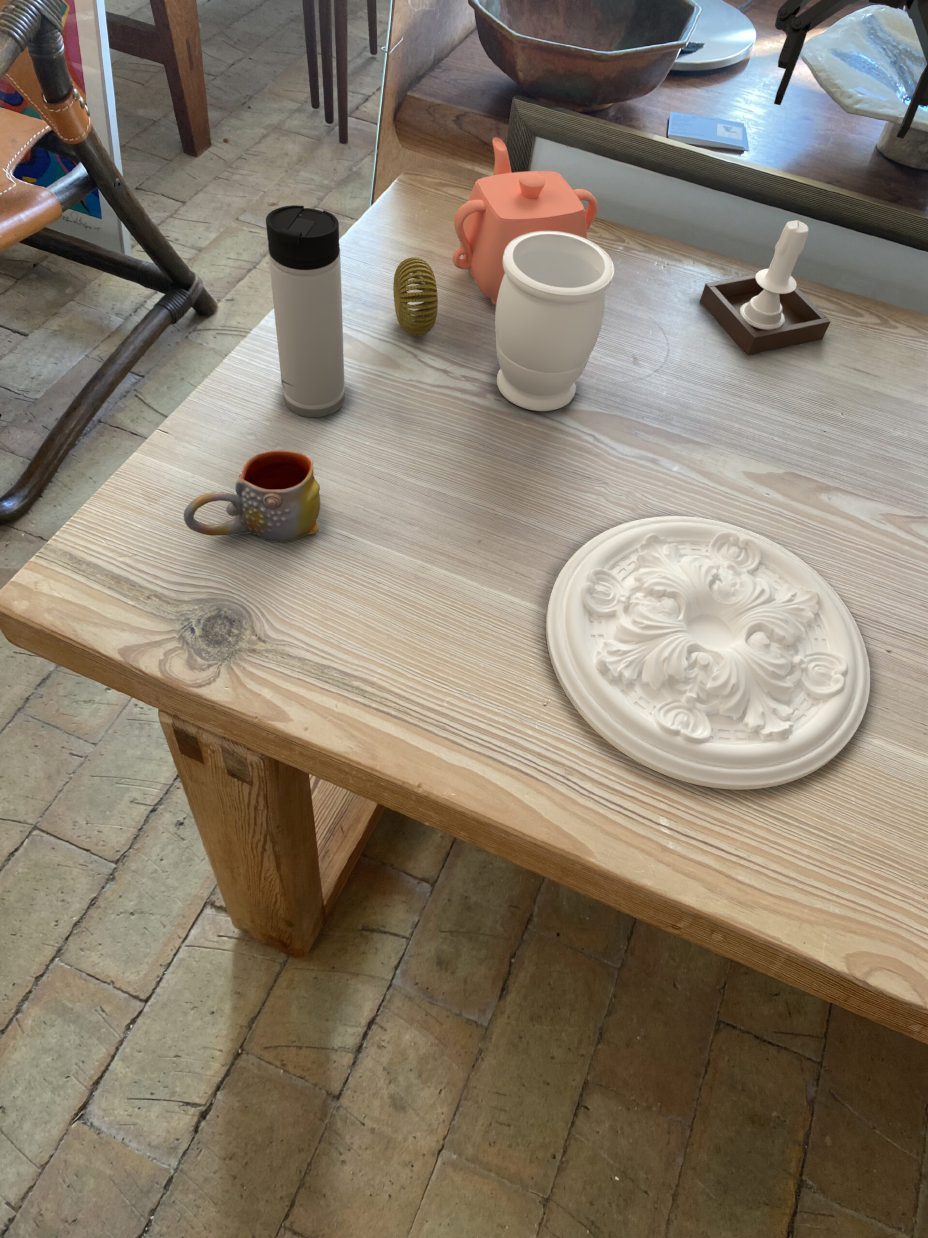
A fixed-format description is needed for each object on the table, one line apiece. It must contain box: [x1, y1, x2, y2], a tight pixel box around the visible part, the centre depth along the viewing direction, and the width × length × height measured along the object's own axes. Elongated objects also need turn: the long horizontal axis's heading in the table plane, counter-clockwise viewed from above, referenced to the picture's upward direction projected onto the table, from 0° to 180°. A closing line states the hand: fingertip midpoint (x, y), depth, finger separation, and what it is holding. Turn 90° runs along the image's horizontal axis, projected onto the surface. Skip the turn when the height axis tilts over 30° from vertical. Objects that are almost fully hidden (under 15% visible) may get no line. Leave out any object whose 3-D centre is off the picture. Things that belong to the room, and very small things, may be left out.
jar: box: [494, 231, 615, 412], centre depth 91 cm, size 11×10×15 cm
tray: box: [699, 273, 832, 357], centre depth 107 cm, size 11×11×2 cm
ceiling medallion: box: [545, 515, 871, 791], centre depth 78 cm, size 28×28×3 cm
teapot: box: [452, 137, 599, 306], centre depth 103 cm, size 15×17×13 cm
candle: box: [740, 219, 810, 330], centre depth 102 cm, size 5×5×12 cm
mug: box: [183, 449, 321, 543], centre depth 80 cm, size 12×7×7 cm, turn 113°
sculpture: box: [392, 256, 439, 337], centre depth 98 cm, size 8×4×8 cm, turn 13°
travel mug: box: [265, 204, 346, 418], centre depth 85 cm, size 6×7×20 cm
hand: (839, 115), depth 98 cm, fingers open, 13 cm apart
